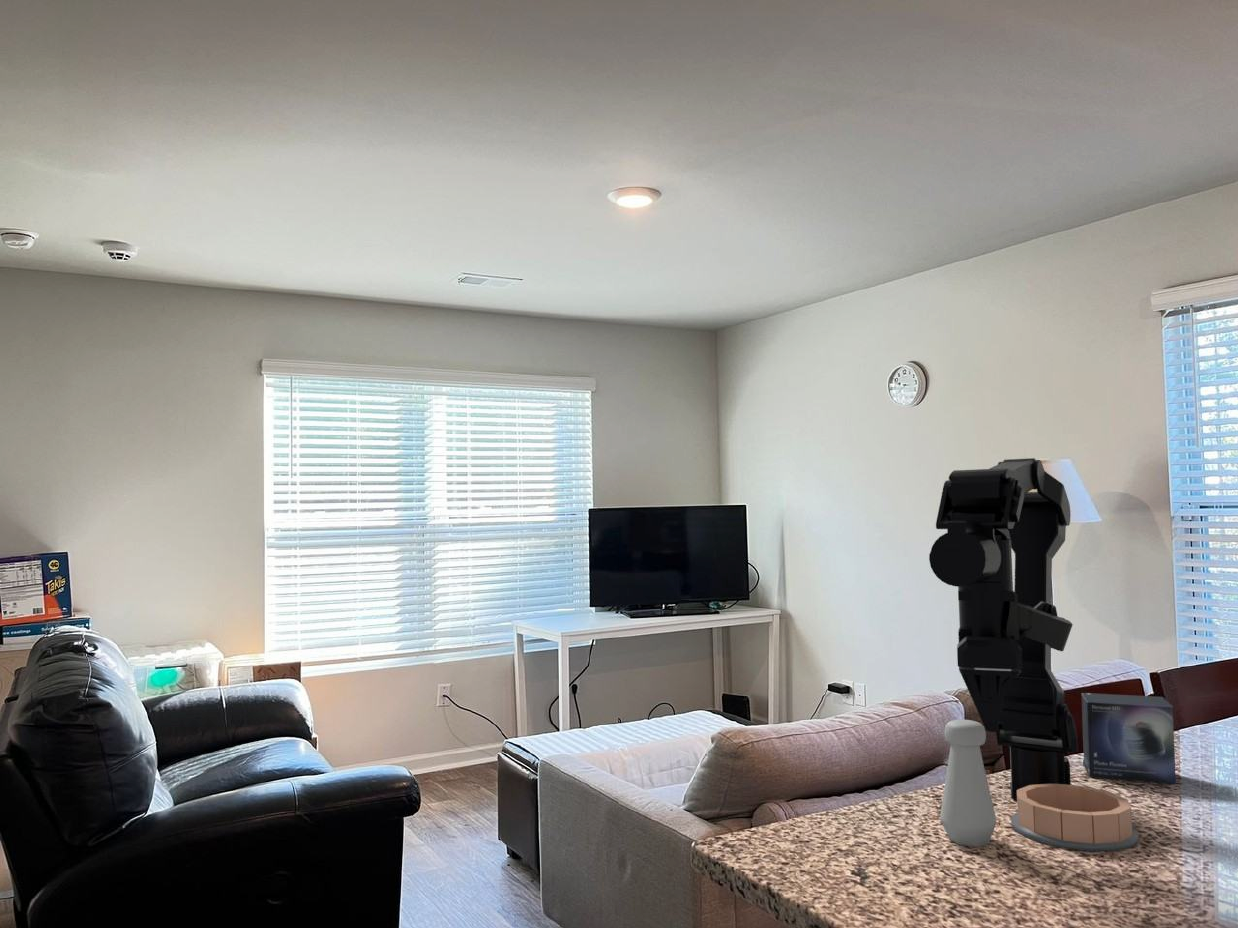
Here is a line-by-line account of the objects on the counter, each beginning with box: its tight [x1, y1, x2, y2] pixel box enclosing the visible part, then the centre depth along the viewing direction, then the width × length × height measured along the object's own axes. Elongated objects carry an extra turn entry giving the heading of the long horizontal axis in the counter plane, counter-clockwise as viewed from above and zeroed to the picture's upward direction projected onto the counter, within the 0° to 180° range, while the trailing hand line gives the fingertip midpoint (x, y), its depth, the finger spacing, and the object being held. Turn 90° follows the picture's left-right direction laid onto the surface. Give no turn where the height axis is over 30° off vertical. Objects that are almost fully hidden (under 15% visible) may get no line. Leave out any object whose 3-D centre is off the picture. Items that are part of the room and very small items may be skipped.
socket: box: [1010, 784, 1140, 852], centre depth 104 cm, size 13×13×4 cm
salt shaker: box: [939, 719, 997, 848], centre depth 102 cm, size 6×6×13 cm
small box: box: [1080, 692, 1177, 785], centre depth 126 cm, size 11×6×10 cm, turn 70°
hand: (990, 722), depth 101 cm, fingers open, 9 cm apart
